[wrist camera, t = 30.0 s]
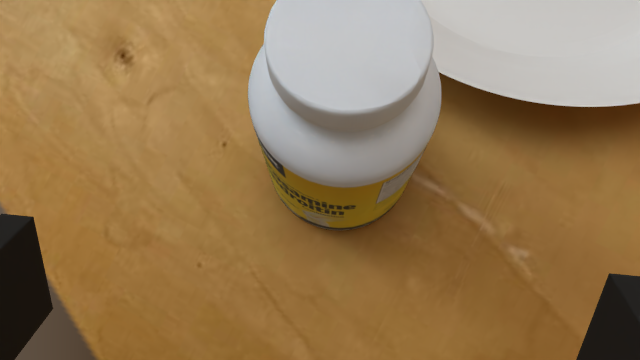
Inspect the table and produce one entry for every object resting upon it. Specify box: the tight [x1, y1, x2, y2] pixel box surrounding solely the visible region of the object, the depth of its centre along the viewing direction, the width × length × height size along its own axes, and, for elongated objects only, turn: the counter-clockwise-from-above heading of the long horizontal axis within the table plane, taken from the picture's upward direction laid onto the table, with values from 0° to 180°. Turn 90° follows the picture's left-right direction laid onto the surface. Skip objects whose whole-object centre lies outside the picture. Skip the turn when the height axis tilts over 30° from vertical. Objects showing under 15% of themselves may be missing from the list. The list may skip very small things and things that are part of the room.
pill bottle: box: [248, 0, 442, 230], centre depth 21 cm, size 6×6×12 cm
